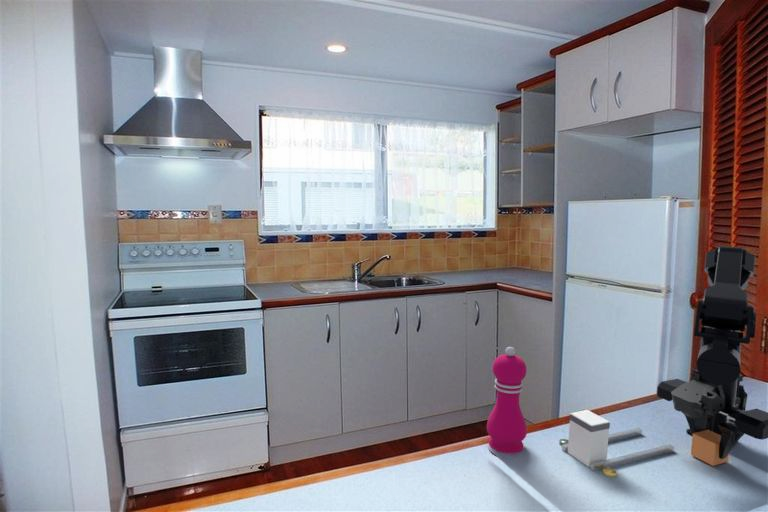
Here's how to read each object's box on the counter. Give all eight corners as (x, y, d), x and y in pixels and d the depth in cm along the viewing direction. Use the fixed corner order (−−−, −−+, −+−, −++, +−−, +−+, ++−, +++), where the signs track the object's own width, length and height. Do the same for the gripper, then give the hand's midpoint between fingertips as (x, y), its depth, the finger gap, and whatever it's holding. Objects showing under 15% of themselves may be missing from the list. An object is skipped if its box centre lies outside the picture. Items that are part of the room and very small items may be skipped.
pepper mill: (527, 463, 87) (533, 354, 85) (485, 458, 89) (490, 351, 86) (524, 443, 94) (529, 342, 92) (485, 439, 96) (489, 339, 93)
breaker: (585, 448, 90) (587, 409, 89) (606, 462, 86) (610, 421, 85) (567, 452, 89) (569, 413, 88) (588, 467, 84) (591, 425, 83)
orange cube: (705, 450, 90) (707, 429, 89) (728, 461, 86) (730, 439, 86) (690, 454, 88) (692, 433, 88) (712, 465, 85) (715, 443, 84)
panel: (626, 430, 100) (627, 420, 100) (691, 466, 87) (692, 454, 87) (547, 448, 93) (547, 437, 92) (605, 489, 80) (606, 477, 80)
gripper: (638, 355, 91) (632, 435, 93) (744, 393, 74) (733, 491, 75) (680, 349, 95) (673, 426, 97) (790, 384, 78) (779, 476, 80)
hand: (709, 452), depth 87 cm, fingers closed on orange cube, 4 cm apart
